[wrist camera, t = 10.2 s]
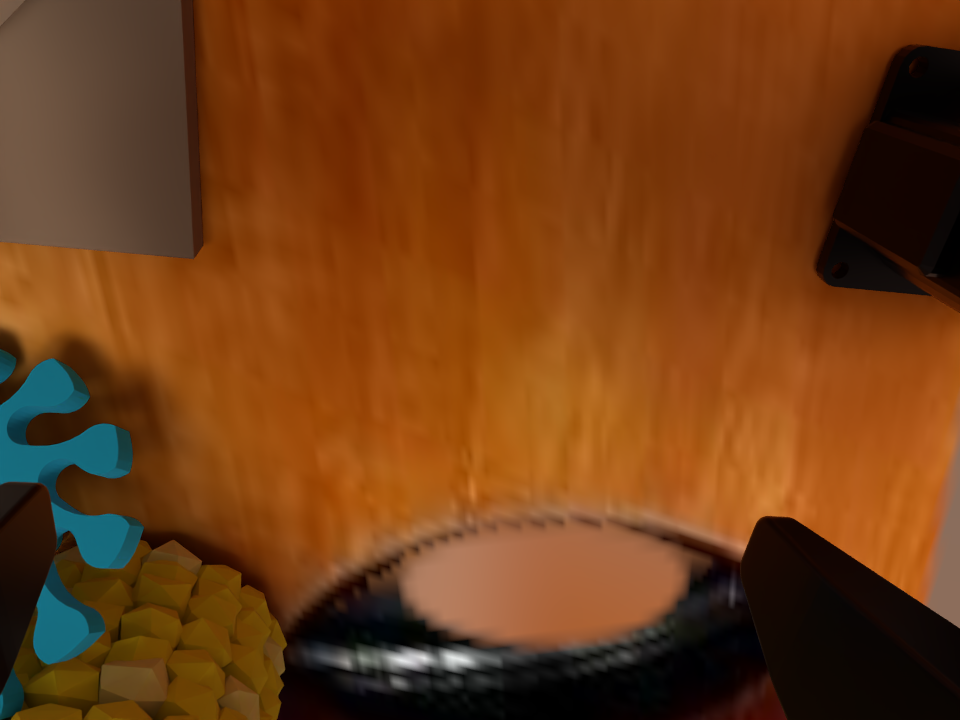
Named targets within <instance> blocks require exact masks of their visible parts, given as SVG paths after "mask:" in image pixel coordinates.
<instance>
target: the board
mask: <svg viewBox="0 0 960 720" xmlns="http://www.w3.org/2000/svg"><path fill="white" fill-rule="evenodd" d="M0 242H10V243H21V244H32V245H43V246H54V247H66V248H77V249H88V250H99V251H111V252H122V253H133V254H144V255H156V256H167V257H178V258H189V259H194V258H195V257H196V255H197V254H198V252H199V251H200V249H201V248H202V246H203V232H202V209H201V186H200V163H199V140H198V116H197V93H196V70H195V47H194V24H193V1H192V0H25V1H24V2H23V3H22V4H21V5H20V6H19V7H18V8H17V9H16V10H15V11H14V12H13V13H12V14H11V15H10V17H9V18H8V19H7V20H6V21H5V22H4V23H3V24H2V25H1V26H0Z"/></svg>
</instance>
